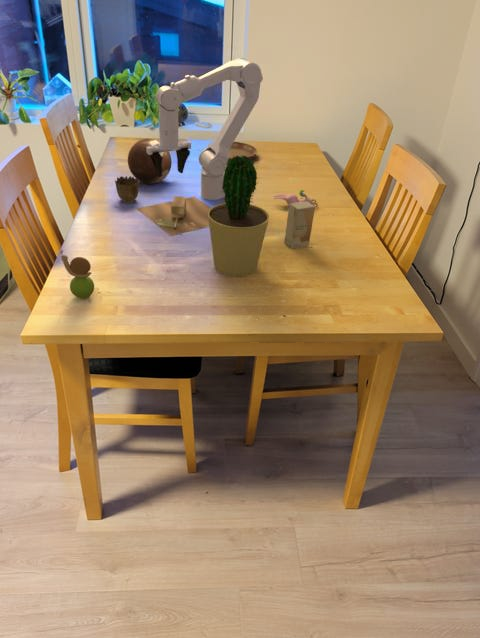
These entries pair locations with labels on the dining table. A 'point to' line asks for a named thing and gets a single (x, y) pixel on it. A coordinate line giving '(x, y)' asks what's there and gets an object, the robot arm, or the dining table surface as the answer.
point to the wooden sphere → (147, 162)
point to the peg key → (178, 208)
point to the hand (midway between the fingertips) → (169, 174)
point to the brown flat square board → (191, 221)
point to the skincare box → (299, 224)
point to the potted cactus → (237, 221)
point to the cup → (127, 188)
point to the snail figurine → (79, 276)
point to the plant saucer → (241, 150)
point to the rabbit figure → (295, 198)
